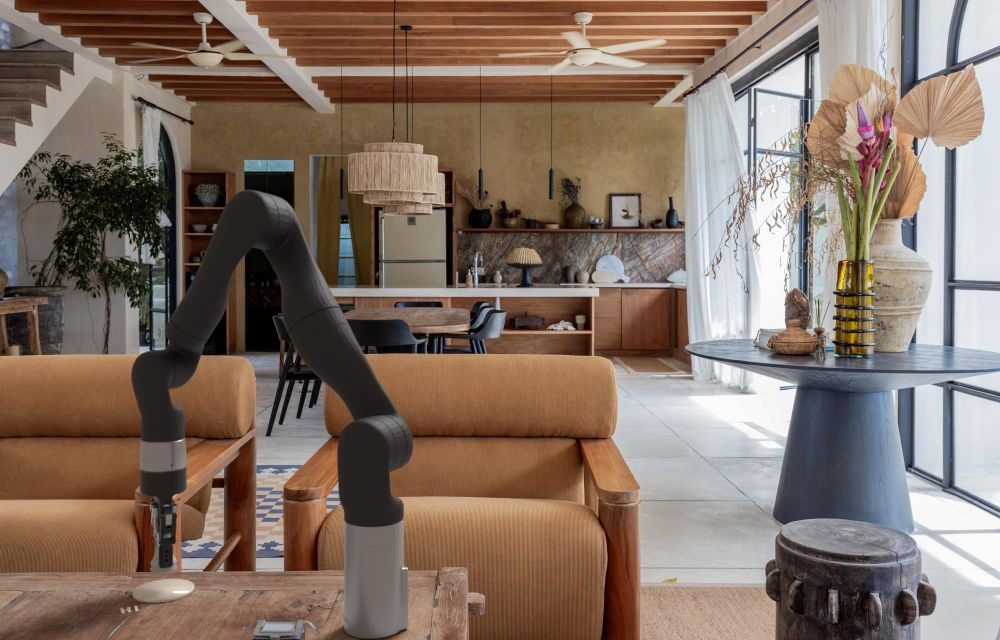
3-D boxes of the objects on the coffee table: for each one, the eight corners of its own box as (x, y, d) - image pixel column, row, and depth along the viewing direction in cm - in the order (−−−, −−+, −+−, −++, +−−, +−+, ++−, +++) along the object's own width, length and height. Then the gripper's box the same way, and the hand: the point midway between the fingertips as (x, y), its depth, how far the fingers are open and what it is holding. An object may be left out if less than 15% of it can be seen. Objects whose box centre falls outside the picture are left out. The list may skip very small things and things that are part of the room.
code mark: (121, 613, 139) (121, 613, 139) (120, 608, 141) (120, 608, 141) (138, 611, 140) (138, 610, 140) (137, 606, 143) (136, 605, 143)
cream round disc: (189, 578, 156) (189, 575, 156) (198, 596, 147) (198, 593, 147) (129, 587, 151) (129, 584, 151) (135, 606, 142) (135, 603, 142)
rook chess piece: (167, 575, 146) (167, 529, 146) (144, 573, 147) (144, 527, 147) (182, 567, 151) (182, 522, 150) (159, 565, 152) (159, 520, 151)
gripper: (192, 471, 144) (193, 572, 144) (180, 455, 156) (180, 548, 157) (144, 475, 140) (145, 579, 141) (135, 459, 153) (136, 554, 153)
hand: (163, 562), depth 149 cm, fingers closed on rook chess piece, 4 cm apart
